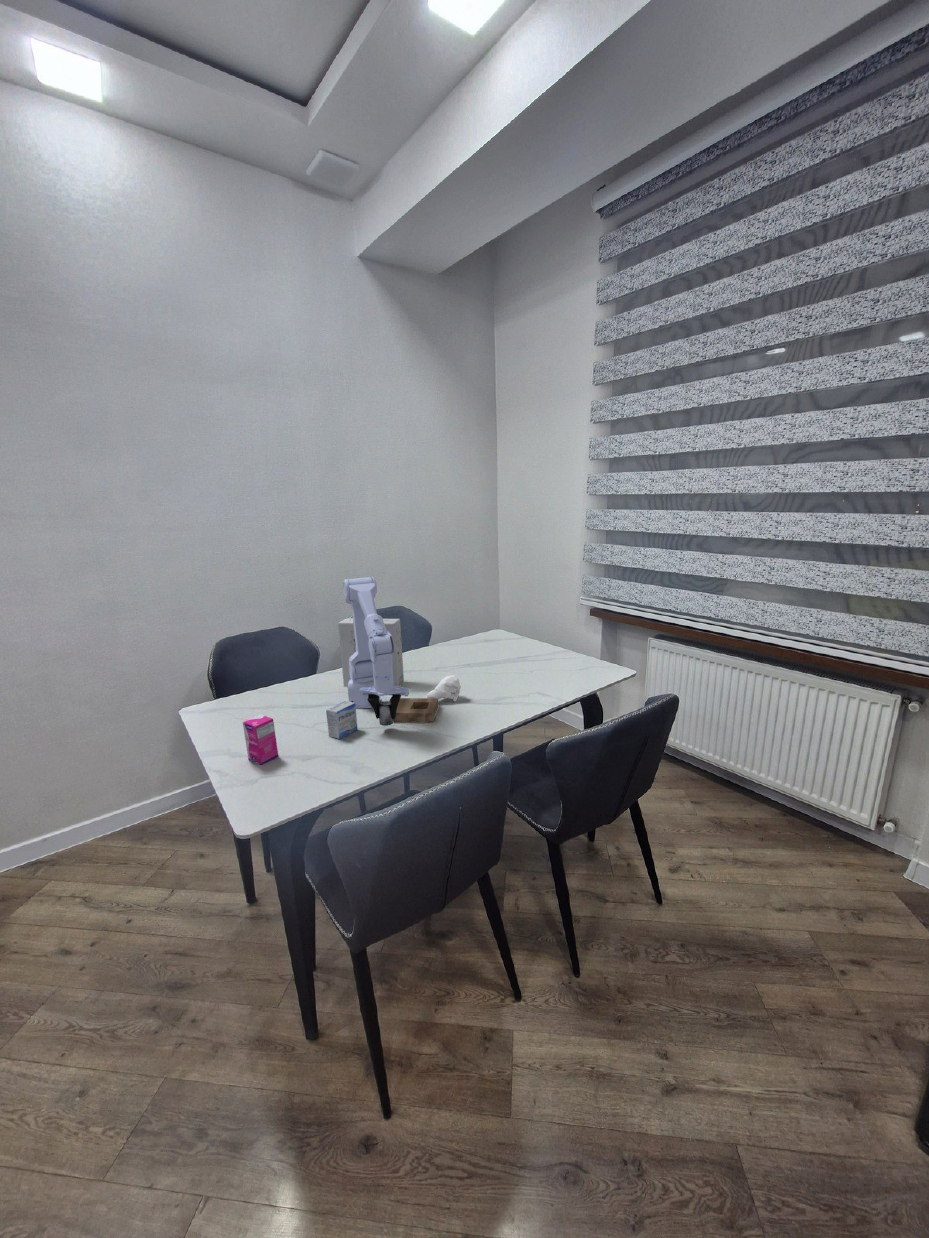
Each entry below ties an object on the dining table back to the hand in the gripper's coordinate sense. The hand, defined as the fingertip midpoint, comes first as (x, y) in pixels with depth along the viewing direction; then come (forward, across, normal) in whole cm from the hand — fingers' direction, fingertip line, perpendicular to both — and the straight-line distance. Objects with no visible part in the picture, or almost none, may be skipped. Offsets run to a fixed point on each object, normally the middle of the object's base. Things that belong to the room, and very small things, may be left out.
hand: (386, 717), depth 148 cm
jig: (+4, +5, +12) cm, 14 cm away
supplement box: (+4, -30, -18) cm, 35 cm away
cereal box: (+5, -15, +39) cm, 42 cm away
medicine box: (+4, -13, -2) cm, 14 cm away
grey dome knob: (+2, 0, 0) cm, 2 cm away
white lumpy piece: (+4, +14, +23) cm, 27 cm away
